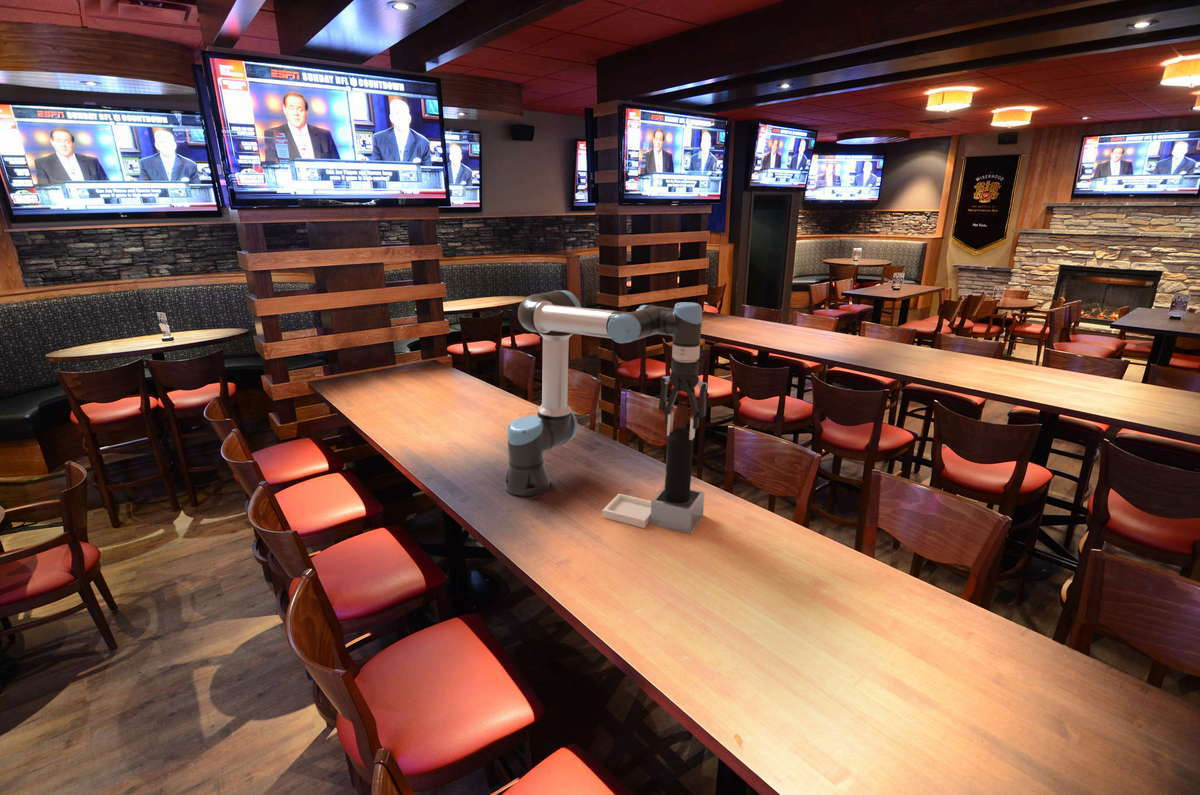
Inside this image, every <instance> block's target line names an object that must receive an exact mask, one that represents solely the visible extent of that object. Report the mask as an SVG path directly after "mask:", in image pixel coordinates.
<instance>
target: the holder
mask: <svg viewBox="0 0 1200 795" xmlns="http://www.w3.org/2000/svg"><path fill="white" fill-rule="evenodd" d="M664 494H665V484H664V485H663V486H662V488H661V489H660V490H659V491H658V492H657V493H656V494H655V496H654V497H653V498H652V499H651V500H650V501H651V521H650V522H649V523H650V525H652V526H655V527H658V528H662V529H663V528H664V529H666V530H670V531H675V532H679V533H682V534H686V535H691V534H692V533H693V531H694V530H695V528H696V527H697V525H698V524H699V522H700V521H701V519H702V517H703V516H704V506H705V491H701V490H698V489H692V488H690V498H689V500H688V501H687V502H685V503H672V502H669V501H667V500H666V499H665V497H664Z"/></svg>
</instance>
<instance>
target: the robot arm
mask: <svg viewBox="0 0 1200 795" xmlns="http://www.w3.org/2000/svg"><path fill="white" fill-rule="evenodd" d="M517 318H518V321H519V323H520V324H521V326H522V327H523V328H524V329H525V330H527V331H528V332H531V333H538V334H539V336H541V337H542V373H541V374H542V384H541V385H542V387H541V388H542V389H541V390H542V391H541V392H542V393H541V399H542V400H541V405H539V406H538V407H537V416H535V415H528V416H521V417H518V418H516V419H514V420H513V421H511V422H510V423H509V424H508V427H507V448H508V450H507V451H508V469H507V472H506V475H505V479H504V489H505V491H506V492H508V493H510V494H511V495H514V496H518V497H530V496H537V495H540V494H542V493H545V492H546V491H547V490H548V489H549V488H550V486H551V485H550V477H549V475H548V472H547V469H546V466H545V461H544V460H545V459H544V454H545V453H546V452H548V451H551V450H552V449H555V448H557V447H558V446H562V445H564V444H567V443H568V442H570V441H572V440H573V439H574V437H576V435H577V431H578V421H577V418H576V416H575V413H573V411H572V408H571V407H570V406H569V405H568V386H569V385H568V384H569V383H568V382H569V381H568V379H569V378H568V377H569V350H570V348H569V344H570V342H569V341H570V338H571V336H573V335H574V334H576V335H583V336H590V337H598V338H604V339H605V338H606V339H611V340H612V341H614V342H615V343H618V344H629V343H632V342H634V341H637V340H641V339H643V338H646V337H650V336H654V335H664V336H668V337H672V349H671V350H672V351H671V353H672V354H671V357H672V359H671V364H670V365H671V369H670V371H671V373H670V375H669V376H668V375H667V376H666V375H663V376H662V377H661V378H660V379H659V381H660V387H661V388H660V395H659V403H658V410H659V411H660V412H661V411H662V412H663V413H664V424H666V426H667V427H666V436H667V437H668V436H669V435H670V433H671V432H672V431H674V430H673V428H674V413H675V412H674V411H672V410H673V407H674V404H675V401H676V399H677V397H678V394H679V392H684V393H686V396H687V397H688V402H689V405H690V409H691V412H692V416H691V417H690V419H689V420H690V421H689V424H690V425H689V433H690V435H689V440H692V439H693V440H694V439H695V434H696V430H697V429H698V428H699V426H700V424H699V423H700V419H702V418H704V417H705V416H706V415H707V389H708V388H709V387H708V386H709V382H708V381H705V382H704V381H702V380H700V378H699V370H700V369H699V367H700V366H699V365H700V361H699V359H700V355H701V354H700V352H701V333H702V324H703V307H702V306H701V305H700V304H699V303H697V302H691V301H690V302H687V301H686V302H685V301H683V302H681V301H680V302H677V303H675V305H674V307H673V308H671V307H663V306H658V305H654V304H643V305H640V306H639V307H638V308H637V309H636V310H635V311H630V312H629V311H620V310H619V311H617V310H610V309H600V308H599V309H598V308H588V307H582V306H581V304H580V301H579V299H578V298H577V297H576V295H575V294H573V293H572V292H570V291H568V290H565V289H564V290H553V291H546V292H542V293H534V294H530V295H528V296H527V297H525V298H524V299H523V300H522V301H521V302H520V304H519V306H518V309H517ZM669 383H671V385H672V390H671V393H670V397H669V398H667V397H668V396H667V395H668V390H669ZM696 386H698V389H699V404H698V401H697V397H696V396H697V395H696V389H695V388H696ZM667 400H668V402H667Z"/></svg>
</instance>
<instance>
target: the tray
mask: <svg viewBox="0 0 1200 795" xmlns="http://www.w3.org/2000/svg"><path fill="white" fill-rule="evenodd" d="M601 512H602V514H601V516H602V518H604V519H608V520H612V521H616V522H620V523H623V524H627V525H631V526H635V527H638V528H642V529H646V527H647V525H648V524H649V523H650V522H651V500H648V499H644V498H640V497H635V496H631V495H626V494H622V493H618V494H617V495H615V497H613V499H612V500H610V502H609V503H608V504H606V506H604V508H603V509H602V511H601Z"/></svg>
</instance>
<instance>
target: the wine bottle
mask: <svg viewBox="0 0 1200 795" xmlns="http://www.w3.org/2000/svg"><path fill="white" fill-rule="evenodd" d="M676 409H677V411H676V412H677V414H676V415H677V416H676V427H675V429H674V430H673V431H672V432H671V433H670V435H669V436H667V440H666V442H667V443H666V458H665V480H664V485H665V494H664V497H665V499H666V500H667V501H669V502H672V503H685V502H687V501H688V500H689V498H690V489H691V481H692V480H691V479H692V469H693V468H692V466H693V452H694V441H695V440H694V438H693V439H692V440H689V435H690V431H689V430H688V429H687V416H688V403H687V402H686V401H679V402H678V403H677V407H676Z"/></svg>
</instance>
